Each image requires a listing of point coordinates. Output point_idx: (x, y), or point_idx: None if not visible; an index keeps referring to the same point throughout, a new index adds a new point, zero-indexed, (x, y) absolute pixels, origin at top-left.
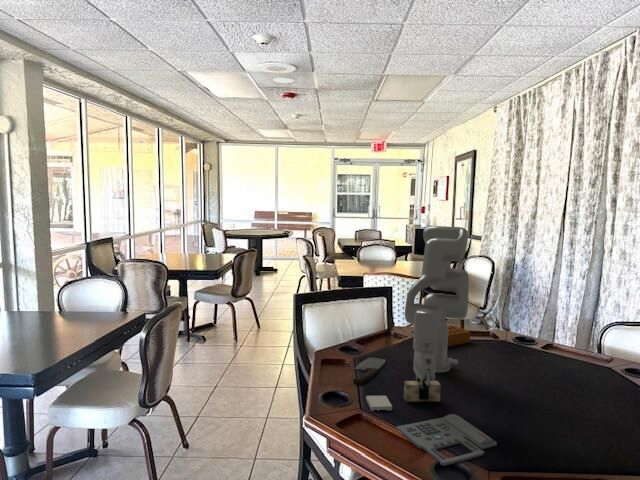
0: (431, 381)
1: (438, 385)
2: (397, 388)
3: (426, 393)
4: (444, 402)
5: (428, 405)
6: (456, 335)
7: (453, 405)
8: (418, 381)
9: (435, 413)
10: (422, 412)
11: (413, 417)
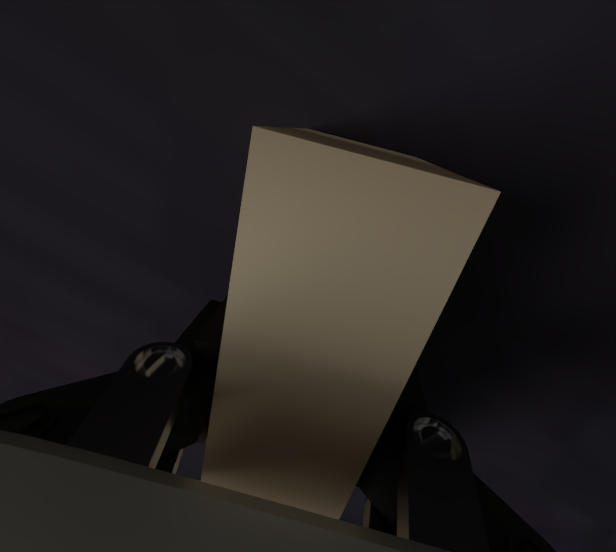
0: (259, 294)
1: (467, 245)
2: (95, 375)
3: (417, 395)
4: (467, 119)
5: (444, 326)
6: None
7: (598, 40)
8: (220, 474)
9: (602, 358)
10: (521, 430)
11: (544, 506)
